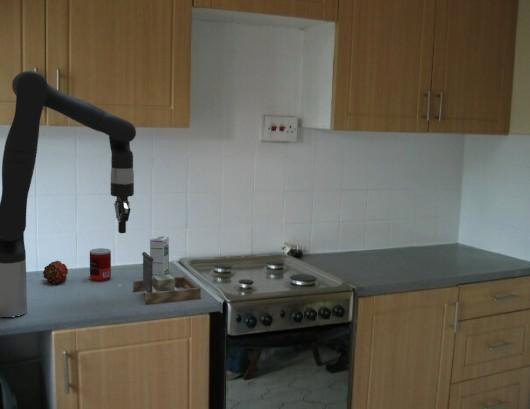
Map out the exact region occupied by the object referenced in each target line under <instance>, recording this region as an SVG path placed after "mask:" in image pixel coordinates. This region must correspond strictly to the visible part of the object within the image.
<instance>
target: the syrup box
mask: <svg viewBox="0 0 530 409" xmlns="http://www.w3.org/2000/svg"><path fill="white" fill-rule="evenodd" d="M169 241H170V238H169V236H164V235H163V236H162V235H159V236H158V235H156V236H154V237H152V238H150V239H149V256H151V257H152V258H153V259H154V260H153V264H152V276H159V275H168V273H169V272H170V253H169V252H170V250H169V249H170V247H169V246H170V245H169V243H170V242H169Z"/></svg>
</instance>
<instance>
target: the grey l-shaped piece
mask: <svg viewBox="0 0 530 409" xmlns="http://www.w3.org/2000/svg"><path fill="white" fill-rule="evenodd" d="M141 255H142V280H143V288H144V291H143V292H145V293H151V292H161V291H170V290H179V289H178V287H177V288H176V287H175V278H173V276H172V275H171V274H165V275H152V264H153V260H154V259H153V258H152V257H151V256H150V254H149V253H147V252H146V251H143V252H142V254H141ZM152 279H153V286H152Z"/></svg>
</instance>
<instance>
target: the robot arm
mask: <svg viewBox="0 0 530 409" xmlns="http://www.w3.org/2000/svg"><path fill="white" fill-rule="evenodd" d="M11 84H12V86H11V87H12V92H13V93H14V95H15V96H16V97H15V109H14V117H13V120H12V122H11V126H10V127H9V130H8V133H7V137H6V140H5V144H4V148H3V153H2V154H3V155H2V161H1V162H2V163H1V186H2V188H1V197H0V318H2V317H12V316H18V315H22V314H24V315H26V314H27V313H28V294H27V293H28V292H27V291H28V290H27V289H28V288H27V287H28V286H27V257H26V255H27V254H26V247H25V230H26V227H27V208H28V207H27V206H28V196H29V192H30V188H31V185H32V181H33V177H34V176H33V175H34V170H35V166H36V162H37V153H38V144H39V143H38V142H39V135H40V125H41V124H40V123H41V117H42V113H43V109H44V107H46V108H48V109H50V110H52V111H53V110H54V111H55V112H57V113H59V114H62V115H63V116H65V117H67V118H69V119H72V120H73V121H75V122H77V123H79V124H81V125H83V126H84V127H87V128H88V129H91V130H94V131H96V132H100V133H104V134H105V135H107V136H108V139H109V148H110V152H111V160H110V162H111V168H110V195H111V197H116V200H115V201H114V203H113V205H114V212H115V217H116V218H115V219H117V222H118V226H117V227H118V228H117V230H118V233H120V234H126V233H127V222H128V221H129V218H130V213H131V210H132V209H131V207H130V201H129V197H133V196H134V194H135V172H134V153H133V151H132V150H131V145H130V142H132V141H133V140H134V139H135V137H136V135H137V131H136V130H137V129H136V127H135V126H134V124H133V123H131V122H130V121H128V120H126V119H124V118H121V117H119V116H117V115H113V114H111V113H109V112H108V111H105V110H103V109H102V108H100V107H98V106H96V105H94V104H92V103H90V102H87V101H86V100H83V99H80V98H78V97H74V96H72V95H70V94H68V93H65V92H62V91H60V90H59V89H56V88H55V87H53V86H51V85H50V84H48V82H47V80H46V78H45V76H44V75H43V74H41V73H40V72H39V71H35V70H27V71H26V70H25V71H22V72H20V73H18V74H17V75H15V77H14V78H13V80H12V83H11ZM26 312H27V313H26ZM25 313H26V314H25ZM22 316H23V315H22Z"/></svg>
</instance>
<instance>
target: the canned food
mask: <svg viewBox="0 0 530 409" xmlns="http://www.w3.org/2000/svg"><path fill="white" fill-rule="evenodd" d="M111 254H112V251H111V249H109V248H105V247H103V248H102V247H101V248H92V249H90V250H89V279H90V281H92V282H97V283H98V282H99V283H100V282H106V281H109V280H110V279H111V277H112V255H111Z"/></svg>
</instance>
